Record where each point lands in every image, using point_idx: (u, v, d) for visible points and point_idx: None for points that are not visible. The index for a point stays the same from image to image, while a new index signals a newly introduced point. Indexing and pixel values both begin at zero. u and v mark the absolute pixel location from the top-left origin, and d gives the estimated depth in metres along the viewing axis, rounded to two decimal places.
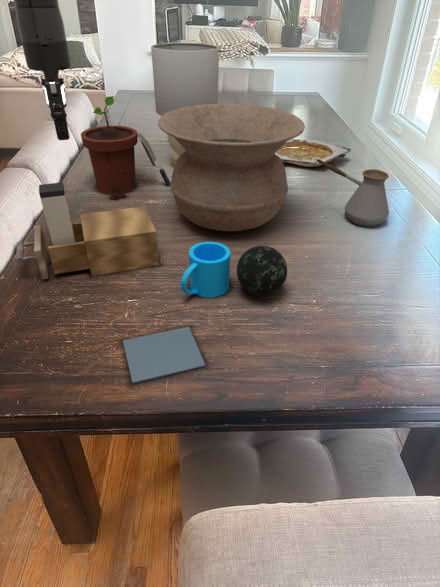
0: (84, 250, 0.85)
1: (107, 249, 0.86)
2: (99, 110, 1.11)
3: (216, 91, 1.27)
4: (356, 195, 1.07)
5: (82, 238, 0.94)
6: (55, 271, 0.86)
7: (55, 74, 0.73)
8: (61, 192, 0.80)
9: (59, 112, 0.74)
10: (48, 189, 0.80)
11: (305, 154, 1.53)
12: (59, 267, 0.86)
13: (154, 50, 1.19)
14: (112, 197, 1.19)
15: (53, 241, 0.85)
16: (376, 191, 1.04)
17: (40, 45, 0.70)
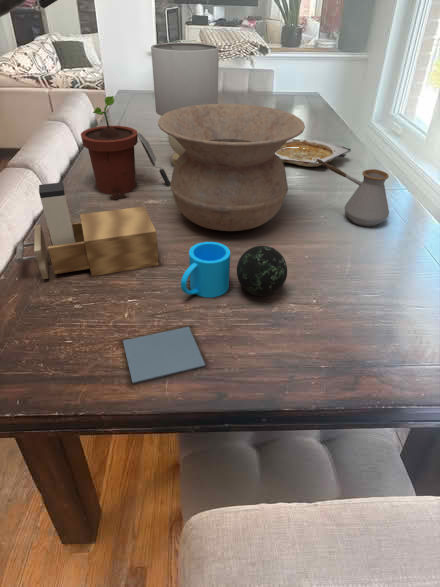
0: (84, 250, 0.85)
1: (107, 249, 0.86)
2: (99, 110, 1.11)
3: (216, 91, 1.27)
4: (356, 195, 1.07)
5: (82, 238, 0.94)
6: (55, 271, 0.86)
7: None
8: (61, 192, 0.80)
9: None
10: (48, 189, 0.80)
11: (305, 154, 1.53)
12: (59, 267, 0.86)
13: (154, 50, 1.19)
14: (112, 197, 1.19)
15: (53, 241, 0.85)
16: (376, 191, 1.04)
17: None
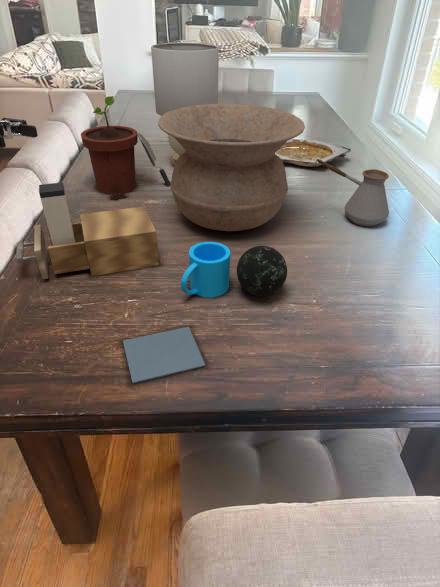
0: (84, 250, 0.85)
1: (107, 249, 0.86)
2: (99, 110, 1.11)
3: (216, 91, 1.27)
4: (356, 195, 1.07)
5: (82, 238, 0.94)
6: (55, 271, 0.86)
7: None
8: (61, 192, 0.80)
9: None
10: (48, 189, 0.80)
11: (305, 154, 1.53)
12: (59, 267, 0.86)
13: (154, 50, 1.19)
14: (112, 197, 1.19)
15: (53, 241, 0.85)
16: (376, 191, 1.04)
17: None
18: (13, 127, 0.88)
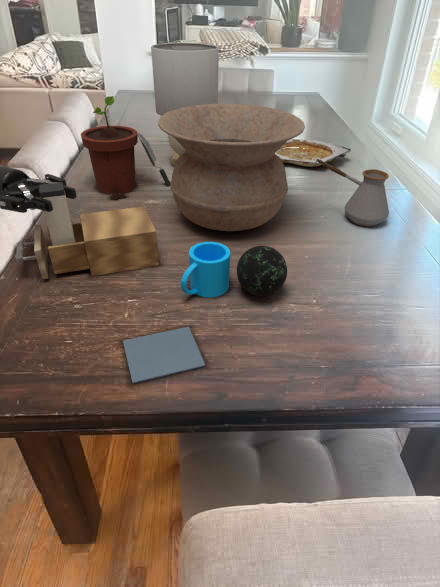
0: (84, 250, 0.85)
1: (107, 249, 0.86)
2: (99, 110, 1.11)
3: (216, 91, 1.27)
4: (356, 195, 1.07)
5: (82, 238, 0.94)
6: (55, 271, 0.86)
7: (4, 191, 0.82)
8: (61, 192, 0.80)
9: (18, 204, 0.79)
10: (49, 189, 0.80)
11: (305, 154, 1.53)
12: (59, 267, 0.86)
13: (154, 50, 1.19)
14: (112, 197, 1.19)
15: (53, 241, 0.85)
16: (376, 191, 1.04)
17: None
18: None
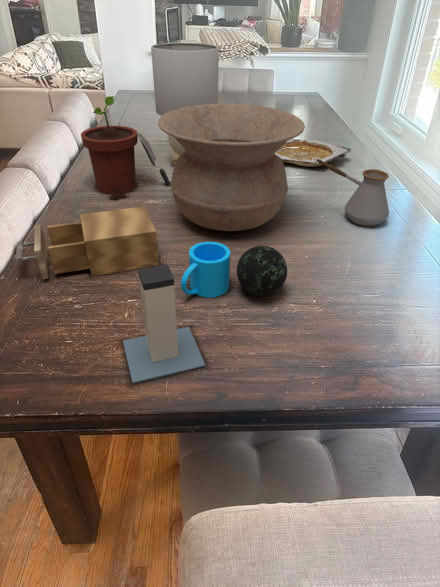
0: (84, 250, 0.85)
1: (107, 249, 0.86)
2: (99, 110, 1.11)
3: (216, 91, 1.27)
4: (356, 195, 1.07)
5: (82, 238, 0.94)
6: (55, 271, 0.86)
7: None
8: (170, 281, 0.60)
9: None
10: (154, 278, 0.59)
11: (305, 154, 1.53)
12: (59, 267, 0.86)
13: (154, 50, 1.19)
14: (112, 197, 1.19)
15: (151, 339, 0.65)
16: (376, 191, 1.04)
17: None
18: None
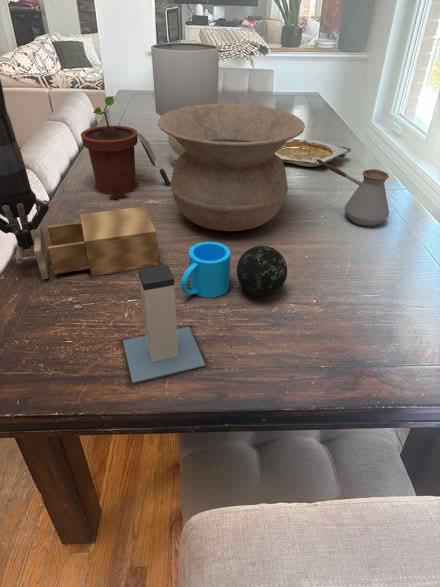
0: (84, 250, 0.85)
1: (107, 249, 0.86)
2: (99, 110, 1.11)
3: (216, 91, 1.27)
4: (356, 195, 1.07)
5: (82, 238, 0.94)
6: (55, 271, 0.86)
7: None
8: (170, 281, 0.60)
9: None
10: (154, 278, 0.59)
11: (305, 154, 1.53)
12: (59, 267, 0.86)
13: (154, 50, 1.19)
14: (112, 197, 1.19)
15: (151, 339, 0.65)
16: (376, 191, 1.04)
17: None
18: (36, 212, 0.83)
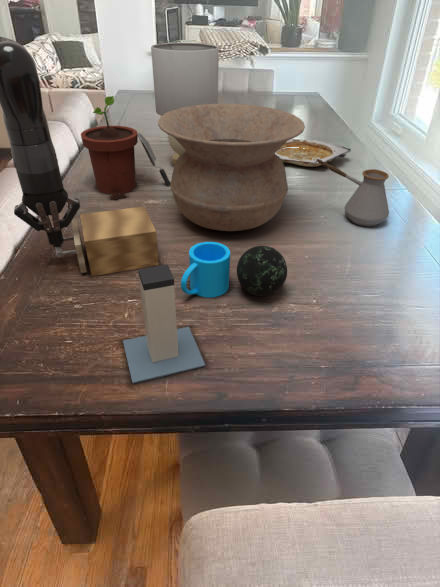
0: None
1: (107, 249, 0.86)
2: (99, 110, 1.11)
3: (216, 91, 1.27)
4: (356, 195, 1.07)
5: None
6: None
7: (23, 194, 0.79)
8: (170, 281, 0.60)
9: None
10: (154, 278, 0.59)
11: (305, 154, 1.53)
12: None
13: (154, 50, 1.19)
14: (112, 197, 1.19)
15: (151, 339, 0.65)
16: (376, 191, 1.04)
17: None
18: (68, 210, 0.84)
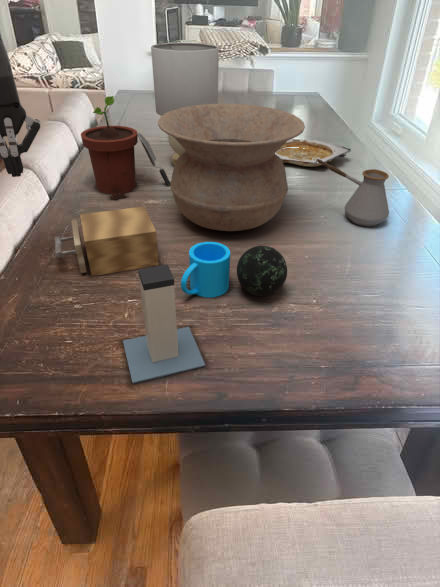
0: None
1: (107, 249, 0.86)
2: (99, 110, 1.11)
3: (216, 91, 1.27)
4: (356, 195, 1.07)
5: None
6: None
7: None
8: (170, 281, 0.60)
9: None
10: (154, 278, 0.59)
11: (305, 154, 1.53)
12: None
13: (154, 50, 1.19)
14: (112, 197, 1.19)
15: (151, 339, 0.65)
16: (376, 191, 1.04)
17: None
18: (27, 133, 0.74)
